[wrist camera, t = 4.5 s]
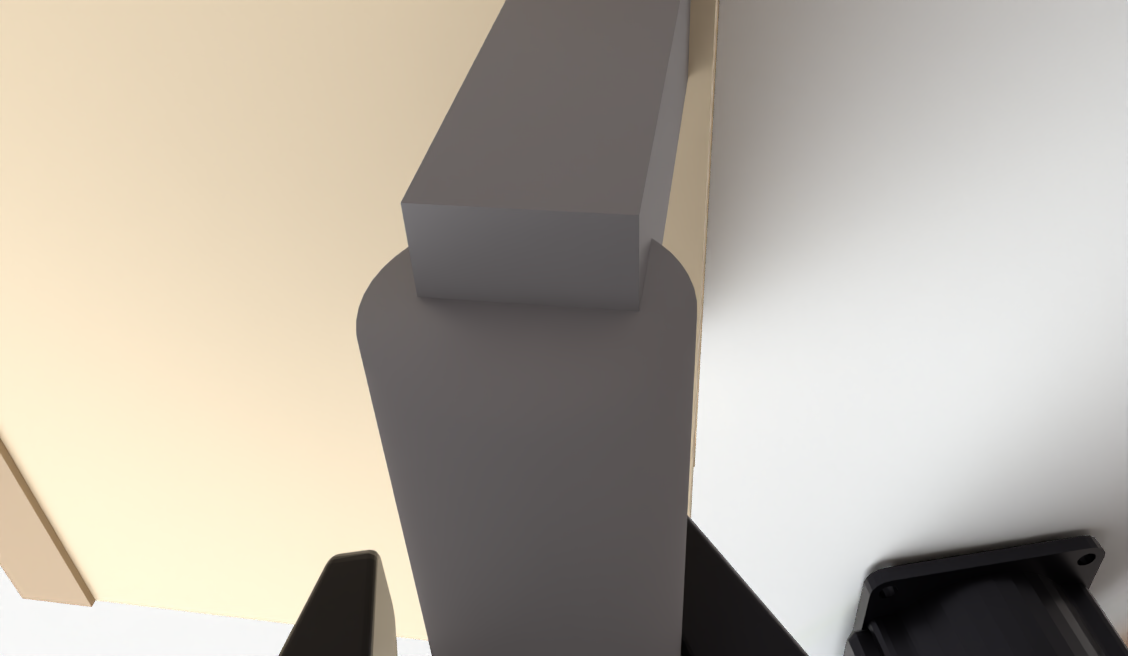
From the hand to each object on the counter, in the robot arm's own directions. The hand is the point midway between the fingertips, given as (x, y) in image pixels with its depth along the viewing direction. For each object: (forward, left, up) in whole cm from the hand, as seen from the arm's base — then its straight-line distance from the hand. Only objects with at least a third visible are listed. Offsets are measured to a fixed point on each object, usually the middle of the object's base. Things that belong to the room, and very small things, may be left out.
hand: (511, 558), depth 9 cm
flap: (+2, 0, -4) cm, 5 cm away
